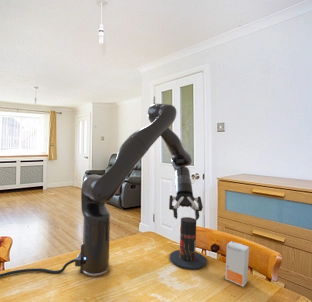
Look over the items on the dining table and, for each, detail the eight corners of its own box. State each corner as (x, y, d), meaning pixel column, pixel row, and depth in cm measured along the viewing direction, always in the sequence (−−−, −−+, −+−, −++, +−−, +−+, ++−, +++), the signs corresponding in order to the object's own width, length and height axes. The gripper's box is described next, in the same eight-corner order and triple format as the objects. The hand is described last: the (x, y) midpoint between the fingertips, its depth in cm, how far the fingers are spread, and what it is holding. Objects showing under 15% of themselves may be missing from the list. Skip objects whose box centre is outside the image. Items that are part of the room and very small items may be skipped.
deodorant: (195, 262, 84) (196, 222, 84) (179, 260, 86) (180, 221, 85) (194, 254, 90) (195, 218, 90) (179, 253, 91) (180, 216, 91)
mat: (171, 268, 81) (171, 266, 81) (168, 250, 95) (168, 248, 95) (210, 271, 80) (211, 268, 80) (201, 252, 94) (202, 250, 94)
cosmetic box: (224, 279, 75) (226, 244, 75) (229, 274, 78) (230, 240, 78) (243, 287, 71) (245, 250, 71) (248, 282, 74) (249, 246, 74)
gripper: (169, 181, 103) (170, 213, 92) (200, 182, 102) (205, 215, 91) (167, 190, 109) (169, 221, 97) (197, 191, 108) (202, 223, 96)
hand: (186, 218), depth 94 cm, fingers open, 8 cm apart
